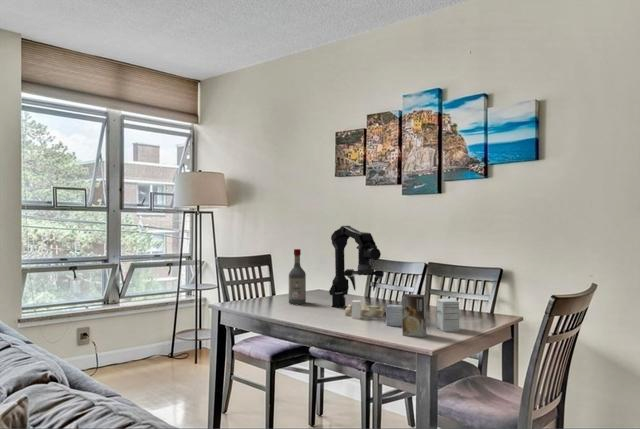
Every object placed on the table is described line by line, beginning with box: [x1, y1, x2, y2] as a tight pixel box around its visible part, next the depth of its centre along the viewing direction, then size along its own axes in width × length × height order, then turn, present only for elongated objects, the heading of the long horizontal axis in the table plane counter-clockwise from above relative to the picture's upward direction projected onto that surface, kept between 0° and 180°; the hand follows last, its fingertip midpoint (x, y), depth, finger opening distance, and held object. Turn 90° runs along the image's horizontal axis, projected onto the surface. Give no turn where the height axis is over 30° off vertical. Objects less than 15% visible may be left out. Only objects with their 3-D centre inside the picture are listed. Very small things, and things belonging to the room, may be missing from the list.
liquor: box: [288, 248, 307, 305], centre depth 267 cm, size 9×9×30 cm
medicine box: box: [385, 304, 402, 327], centre depth 212 cm, size 8×4×9 cm, turn 71°
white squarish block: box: [351, 299, 362, 320], centre depth 228 cm, size 4×4×8 cm
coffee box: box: [401, 293, 428, 338], centre depth 195 cm, size 9×6×16 cm
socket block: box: [344, 304, 385, 318], centre depth 238 cm, size 18×13×3 cm
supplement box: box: [436, 298, 460, 333], centre depth 204 cm, size 7×7×13 cm
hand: (364, 290), depth 234 cm, fingers open, 9 cm apart
